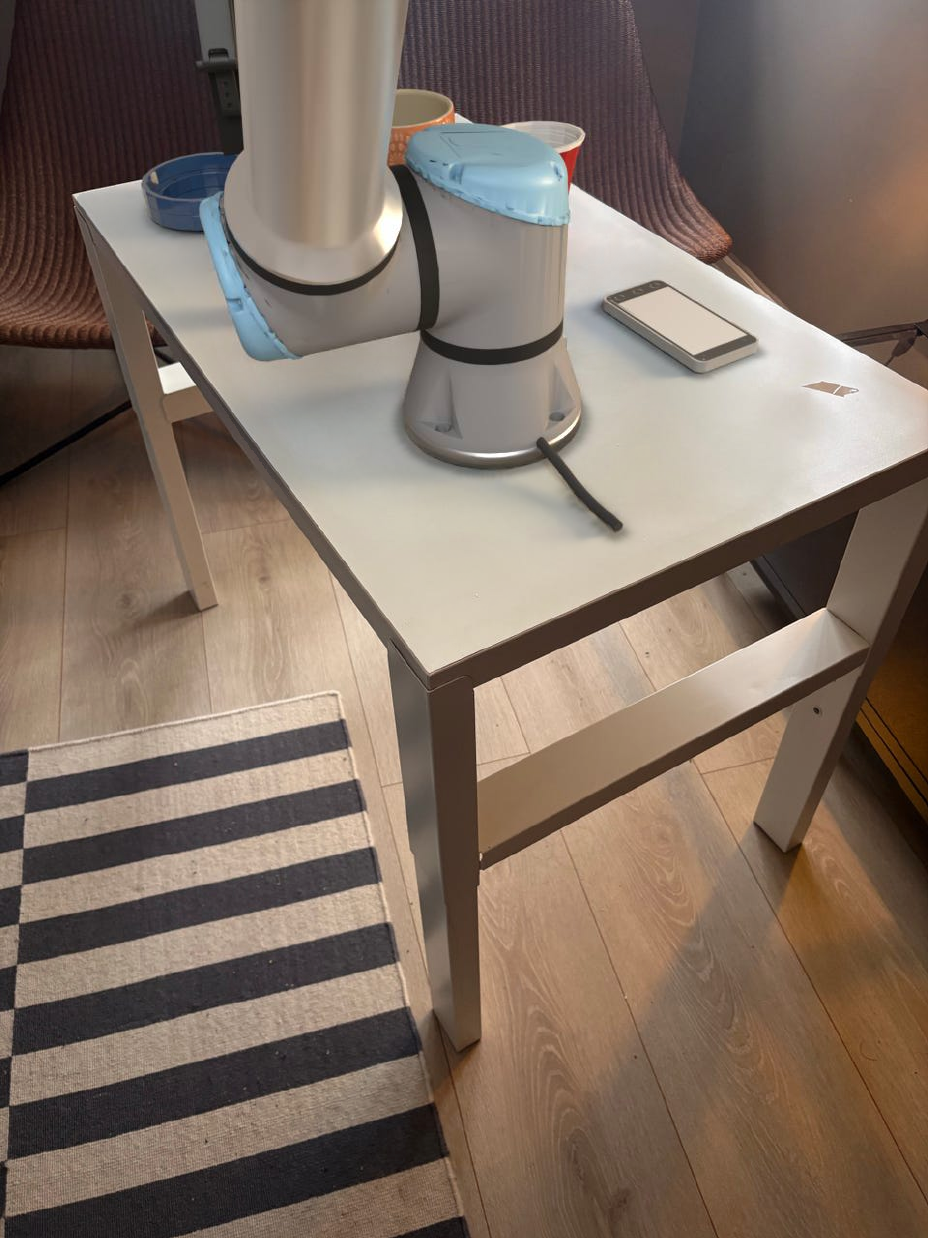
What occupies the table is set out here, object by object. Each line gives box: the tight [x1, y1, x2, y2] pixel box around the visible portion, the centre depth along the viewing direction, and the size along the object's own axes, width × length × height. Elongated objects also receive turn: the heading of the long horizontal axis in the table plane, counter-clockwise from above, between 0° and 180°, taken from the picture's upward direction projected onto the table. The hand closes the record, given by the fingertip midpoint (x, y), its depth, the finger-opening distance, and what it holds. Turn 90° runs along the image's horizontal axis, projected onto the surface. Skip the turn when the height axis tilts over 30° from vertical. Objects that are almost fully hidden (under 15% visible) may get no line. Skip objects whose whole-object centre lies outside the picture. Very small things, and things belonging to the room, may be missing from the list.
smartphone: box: [603, 278, 759, 374], centre depth 97 cm, size 7×1×15 cm
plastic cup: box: [499, 120, 586, 197], centre depth 107 cm, size 11×11×12 cm
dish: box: [140, 151, 238, 232], centre depth 119 cm, size 14×14×4 cm
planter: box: [387, 88, 456, 166], centre depth 116 cm, size 12×12×11 cm
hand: (243, 123), depth 89 cm, fingers open, 13 cm apart
